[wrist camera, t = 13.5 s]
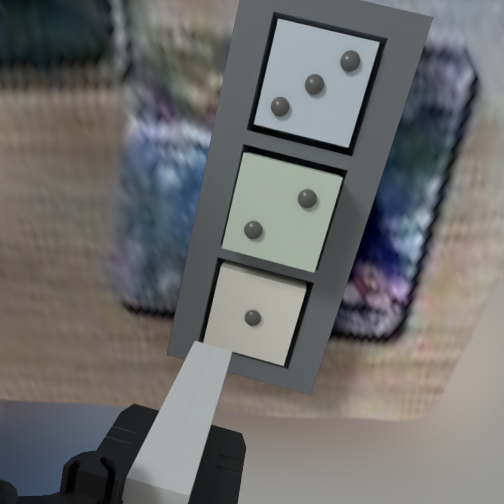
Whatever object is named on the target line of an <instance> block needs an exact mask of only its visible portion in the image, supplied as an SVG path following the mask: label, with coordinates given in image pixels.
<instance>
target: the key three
mask: <svg viewBox="0 0 504 504" xmlns="http://www.w3.org/2000/svg"><path fill="white" fill-rule="evenodd" d="M379 43H380V42H376V41H372V40H367V39H363V38H359V37H354V36H350V35H346V34H342V33H337V32H333V31H329V30H325V29H320V28H316V27H312V26H308V25H303V24H299V23H295V22H290V21H286V20H282V19H278V22H277V26H276V31H275V35H274V39H273V44H272V48H271V52H270V57H269V61H268V65H267V70H266V74H265V78H264V82H263V87H262V91H261V95H260V100H259V104H258V108H257V113H256V117H255V121H254V124H255V125H256V126H258V127H260V128H264V129H268V130H272V131H276V132H280V133H284V134H288V135H292V136H296V137H300V138H304V139H308V140H312V141H316V142H320V143H324V144H328V145H332V146H336V147H340V148H348V147H349V144H350V141H351V137H352V134H353V130H354V127H355V124H356V120H357V117H358V114H359V110H360V107H361V103H362V100H363V97H364V93H365V90H366V87H367V83H368V80H369V77H370V73H371V70H372V66H373V63H374V60H375V56H376V53H377V50H378V46H379Z"/></svg>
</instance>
